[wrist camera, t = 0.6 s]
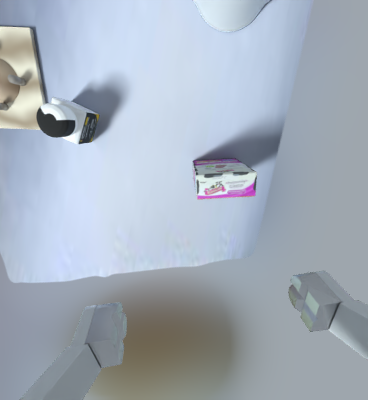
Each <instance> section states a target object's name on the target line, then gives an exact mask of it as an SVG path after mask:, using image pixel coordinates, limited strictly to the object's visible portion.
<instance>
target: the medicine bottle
mask: <svg viewBox="0 0 368 400" xmlns="http://www.w3.org/2000/svg"><path fill="white" fill-rule="evenodd" d="M36 119H37V123H38V125H39V127H40V129H41V130H42V131H43V132H44V133H45V134H47V135H48V136H51V137H62V138H64V139H66V140H68V141H71V142H73V143H75V144H83V143H90V142H92V140H93V136H94V133H95V129H96V126H97V122H98V119H99V114H98V113H96V112H93V111H91V110H89V109H87V108H85V107H83V106H81V105H78V104H76V103H74V102H72V101H68V100H64V99H59V98H55V97H53V98H52V101H51V103H46V104H43V105H42V106H40V107H39V109H38V111H37V115H36Z"/></svg>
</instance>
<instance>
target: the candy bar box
mask: <svg viewBox="0 0 368 400" xmlns="http://www.w3.org/2000/svg"><path fill="white" fill-rule="evenodd" d="M193 179H194V184H195V190H196V196H197V199H212V198H231V197H252V196H255V192H256V179H257V172H256V171H254V170H252V169H251V168H249V167H248V166H246V165H245V164H243V163H242V162H240V161H239V160H237V159H218V160H199V161H193Z"/></svg>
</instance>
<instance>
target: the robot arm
mask: <svg viewBox="0 0 368 400" xmlns="http://www.w3.org/2000/svg"><path fill="white" fill-rule="evenodd" d="M193 1H194V2H195V4H196V6H197V8H198V10H199V12H200V14H201V16H202V17H203V19H204V20H205V21H206V22H207V23H208V24H209V25H210V26H211V27H213V28H214V29H216V30H219V31H223V32H233V31H237V30H240V29H242V28H244V27H246V26H247V25H248V24H250V23H251V22H252V21H253V20H254V19H255V18H256V16H257V15H258V13H259V12H260V10H261V9H262V8H263V6H264V5H265V4H266V3H268V2H269V1H271V0H193ZM291 282H292V285H291V286H290V287H289V292H288V293H289V298H290V301H291V303H292V305H293V306H294V308H295V309H297V310H298V311H300V312H301V319H302V320H303V322H304V323H305V325H306V326H307V328H308V329H309V331H310V332H313V331H320V330H327V329H329V331H330V332H331V333H333V334H334V335H335V336H337V337H338V338H339V339H341V340H342V341H343V342H345V343H346V344H347V345H348V346H350V347H351V348H352V349H354V350H355V351H356V352H357V353H359V354H360V355H361V356H363V357H364V358H365V359H367V360H368V305H367V304H365V303H363V302H361V301H359V300H354V299H353V298H352V297H351V296H350V295H349V294H348V293H347V292H346V291H345V290H344V289H343V288H342V287H341V286H340V285H339V284H338V283H337V282H336V281H335V280H334V279H333V278H332V277H331V276H330V275H329V274H328V273H327V272H326V271H319V272H310V273H304V274H299V275H293V276H292V277H291ZM122 308H123V307H122V304H121V302H119V303H111V304H103V305H95V306H89V307H86V308H85V309H84V311H83V313H82V316H81V318H80V321H79V324H78V327H77V329H76V332H75V335H74V337H73V340H72V343H71V346H70V347H67V348H66V349H65V350H64V351H63V352H62V353H61V354H60V355H59V356H58V357H57V359H56V360H55V361H54V362H53V363H52V364H51V365H50V366H49V367H48V369H47V370H46V371H45V372H44V373H43V374H42V375H41V376H40V378H39V379H38V380H37V381H36V382H35V383H34V384H33V385H32V386H31V387H30V388H29V390H28V391H27V392H26V393H25V394H24V395H23V396H22V397H21V398H20V400H83V399H84V397H85V395H86V394H87V392H88V390H89V389H90V387H91V385H92V384H93V382H94V381H95V379H96V377H97V376H98V374H99V373H100V371H101V368H104V367H109V366H114V365H119V364H122V358H123V351H124V345H123V342H122V340H123V339H124V337H125V336H126V330H127V320H126V315H125V313H124V312H122Z"/></svg>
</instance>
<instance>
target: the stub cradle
mask: <svg viewBox="0 0 368 400" xmlns="http://www.w3.org/2000/svg"><path fill="white" fill-rule="evenodd" d="M43 104H46V103H45V97H44V91H43V86H42V80H41V74H40V68H39V63H38V57H37V51H36V46H35V40H34V34H33V30H32V29H31V28H24V27H0V128H12V129H37V130H41V129H40V127H39V125H38V123H37V119H36V115H37V111H38V109H39V107H40V106H42V105H43Z"/></svg>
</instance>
